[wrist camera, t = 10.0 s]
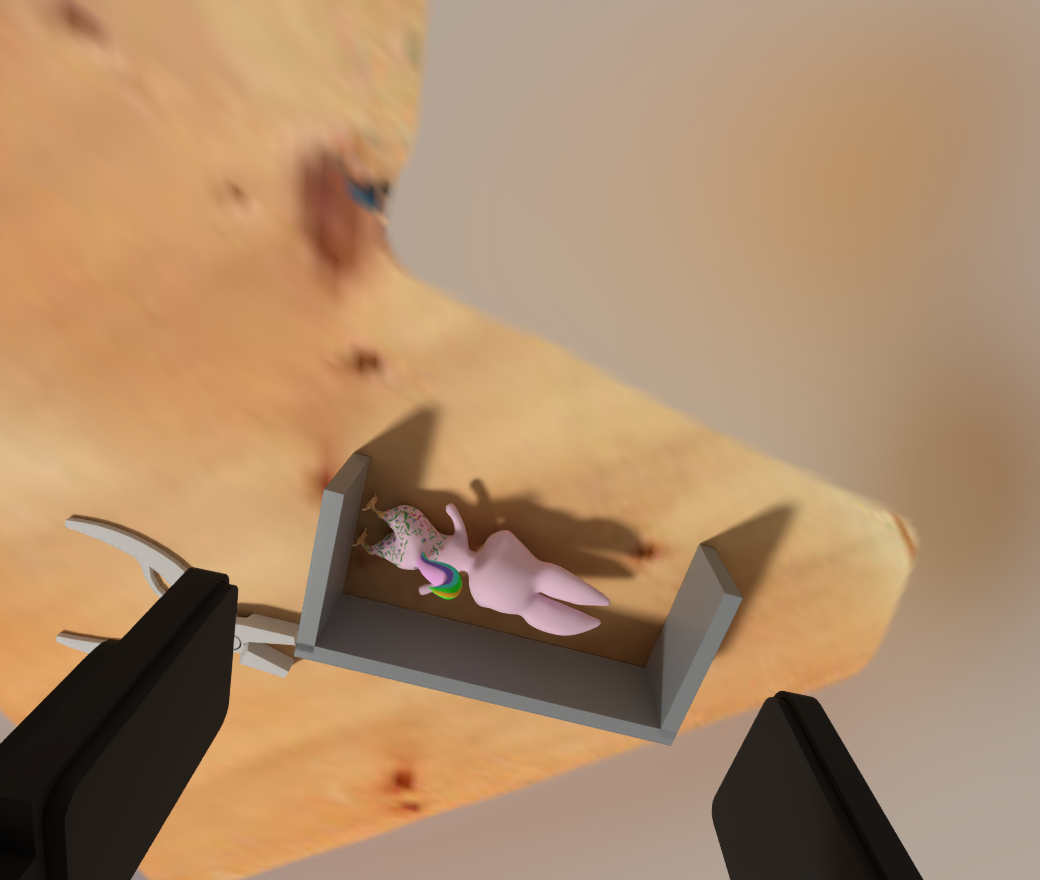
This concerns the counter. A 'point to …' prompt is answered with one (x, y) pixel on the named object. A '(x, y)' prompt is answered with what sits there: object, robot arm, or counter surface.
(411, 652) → the box
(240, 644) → the pliers
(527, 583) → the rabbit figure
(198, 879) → the counter surface
